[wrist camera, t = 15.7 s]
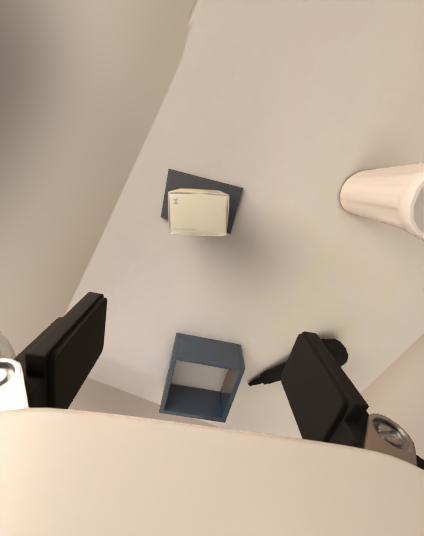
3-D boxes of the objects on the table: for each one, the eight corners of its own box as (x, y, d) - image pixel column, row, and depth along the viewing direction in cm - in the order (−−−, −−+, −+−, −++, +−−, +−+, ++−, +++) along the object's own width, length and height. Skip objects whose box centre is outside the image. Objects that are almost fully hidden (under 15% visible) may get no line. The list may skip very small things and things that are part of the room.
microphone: (252, 375, 52) (341, 340, 46) (258, 403, 47) (357, 368, 41) (240, 366, 49) (333, 327, 42) (245, 395, 44) (351, 357, 38)
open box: (164, 385, 48) (158, 412, 43) (176, 332, 44) (172, 355, 38) (222, 395, 50) (224, 422, 44) (240, 344, 45) (245, 368, 39)
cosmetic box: (179, 217, 35) (166, 235, 24) (179, 186, 34) (165, 190, 22) (220, 219, 36) (226, 238, 24) (222, 188, 34) (230, 193, 23)
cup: (354, 230, 37) (437, 258, 24) (321, 197, 35) (390, 207, 22) (396, 188, 35) (513, 194, 22) (363, 151, 33) (469, 132, 20)
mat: (161, 216, 36) (160, 217, 35) (169, 169, 34) (168, 168, 33) (229, 233, 37) (230, 233, 36) (242, 188, 35) (242, 188, 34)
